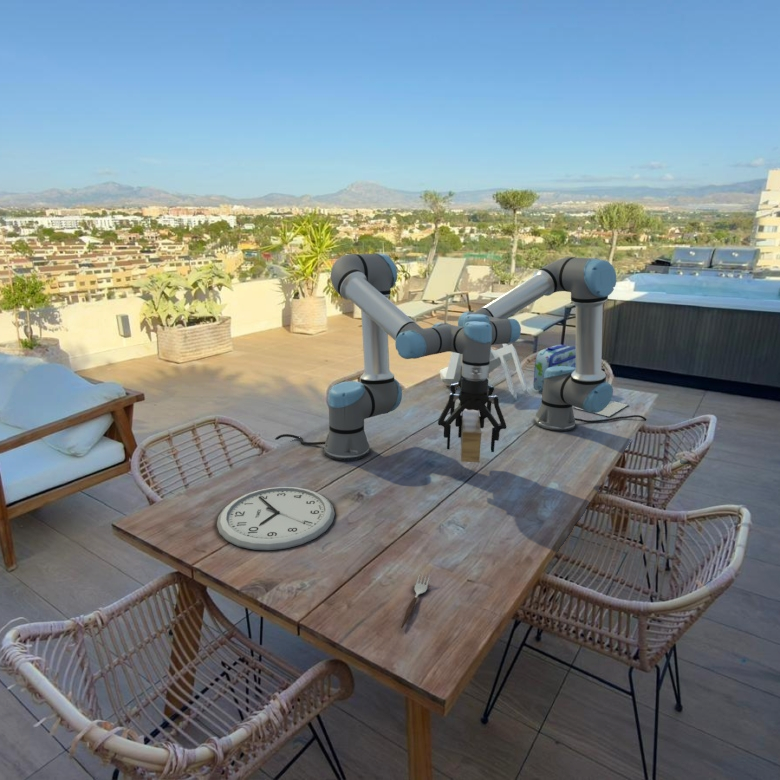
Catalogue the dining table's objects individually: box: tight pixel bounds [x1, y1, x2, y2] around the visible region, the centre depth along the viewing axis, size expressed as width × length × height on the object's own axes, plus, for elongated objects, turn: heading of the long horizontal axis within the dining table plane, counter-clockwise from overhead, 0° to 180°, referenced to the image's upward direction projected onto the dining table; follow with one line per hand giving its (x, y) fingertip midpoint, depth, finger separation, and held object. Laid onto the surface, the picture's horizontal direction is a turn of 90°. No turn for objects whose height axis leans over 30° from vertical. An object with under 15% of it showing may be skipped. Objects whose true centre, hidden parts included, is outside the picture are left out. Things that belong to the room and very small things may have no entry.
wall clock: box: [216, 486, 336, 551], centre depth 136 cm, size 30×2×30 cm
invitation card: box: [573, 400, 629, 418], centre depth 226 cm, size 21×1×15 cm
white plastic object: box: [438, 343, 531, 400], centre depth 245 cm, size 37×45×31 cm
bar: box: [460, 408, 482, 463], centre depth 158 cm, size 22×5×9 cm, turn 173°
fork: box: [400, 570, 431, 629], centre depth 106 cm, size 3×16×2 cm, turn 160°
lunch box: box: [533, 344, 576, 392], centre depth 247 cm, size 26×11×21 cm, turn 134°
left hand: (470, 449), depth 152 cm, fingers open, 12 cm apart
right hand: (468, 436), depth 166 cm, fingers closed on bar, 5 cm apart
